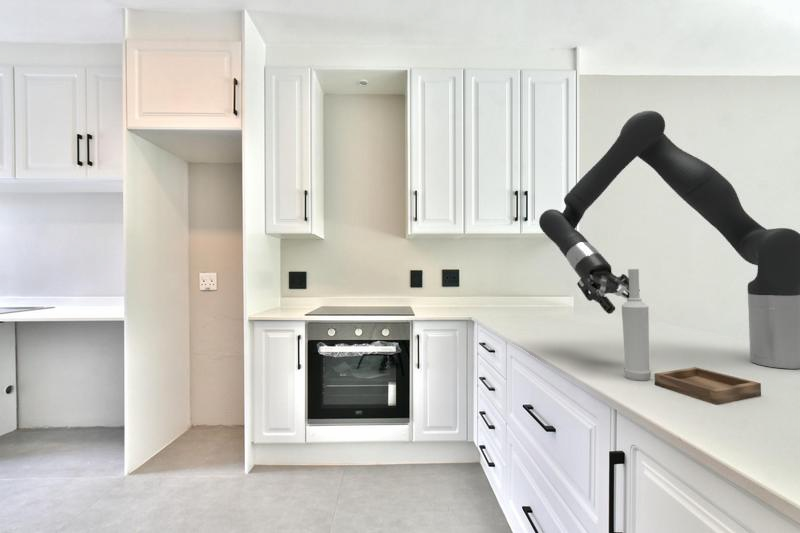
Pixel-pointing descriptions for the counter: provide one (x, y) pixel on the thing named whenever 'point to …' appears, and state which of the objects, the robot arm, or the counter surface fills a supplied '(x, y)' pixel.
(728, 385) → the walnut tray
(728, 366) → the counter surface
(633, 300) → the bottle
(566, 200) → the robot arm
